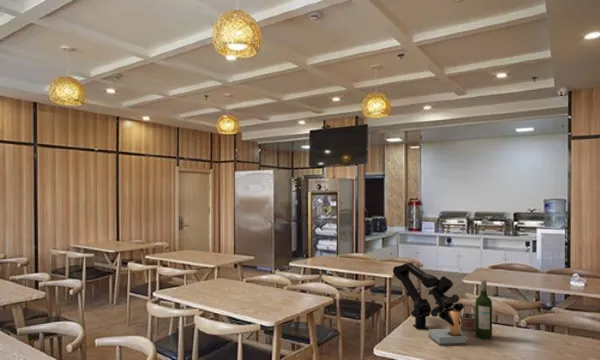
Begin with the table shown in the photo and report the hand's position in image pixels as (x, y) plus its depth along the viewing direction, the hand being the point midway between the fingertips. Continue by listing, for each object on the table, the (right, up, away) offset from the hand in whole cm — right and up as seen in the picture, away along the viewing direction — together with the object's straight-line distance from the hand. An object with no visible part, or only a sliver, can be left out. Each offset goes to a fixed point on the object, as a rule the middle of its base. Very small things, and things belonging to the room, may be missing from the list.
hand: (456, 324), depth 207 cm
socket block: (-4, -9, +3) cm, 10 cm away
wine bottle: (+17, -10, +8) cm, 22 cm away
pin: (-1, -7, +1) cm, 7 cm away
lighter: (+13, -10, +18) cm, 24 cm away
